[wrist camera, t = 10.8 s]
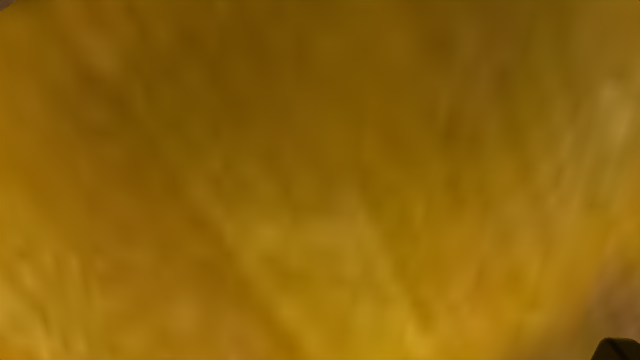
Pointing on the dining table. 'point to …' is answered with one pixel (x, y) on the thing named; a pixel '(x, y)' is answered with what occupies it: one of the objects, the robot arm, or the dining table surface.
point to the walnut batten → (5, 3)
